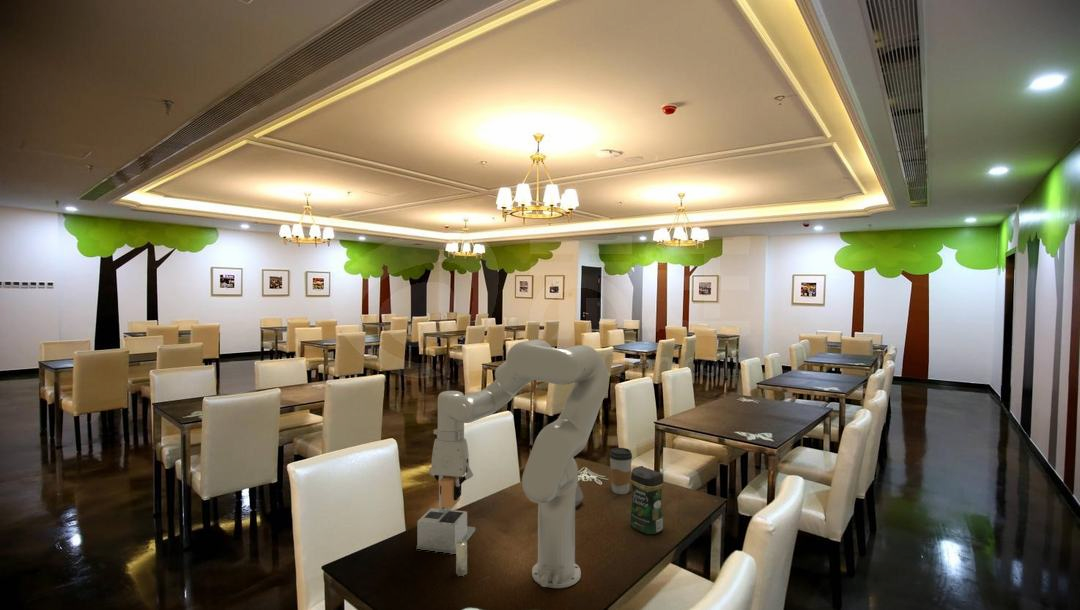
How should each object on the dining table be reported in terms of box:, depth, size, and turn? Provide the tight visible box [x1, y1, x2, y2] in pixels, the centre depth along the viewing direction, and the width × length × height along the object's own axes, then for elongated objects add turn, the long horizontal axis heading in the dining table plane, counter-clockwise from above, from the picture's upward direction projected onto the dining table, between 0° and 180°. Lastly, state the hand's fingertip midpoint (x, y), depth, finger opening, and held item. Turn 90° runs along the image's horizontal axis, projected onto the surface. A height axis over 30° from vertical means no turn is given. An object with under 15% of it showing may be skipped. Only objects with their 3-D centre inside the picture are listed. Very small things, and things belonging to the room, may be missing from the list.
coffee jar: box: [630, 465, 664, 535], centre depth 157 cm, size 10×8×19 cm
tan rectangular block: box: [438, 476, 461, 509], centre depth 147 cm, size 9×3×8 cm, turn 167°
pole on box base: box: [416, 484, 476, 555], centre depth 150 cm, size 15×12×20 cm
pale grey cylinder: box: [455, 541, 468, 577], centre depth 132 cm, size 3×3×8 cm
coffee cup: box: [608, 447, 633, 495], centre depth 187 cm, size 8×8×15 cm
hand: (450, 497), depth 147 cm, fingers closed on tan rectangular block, 3 cm apart
